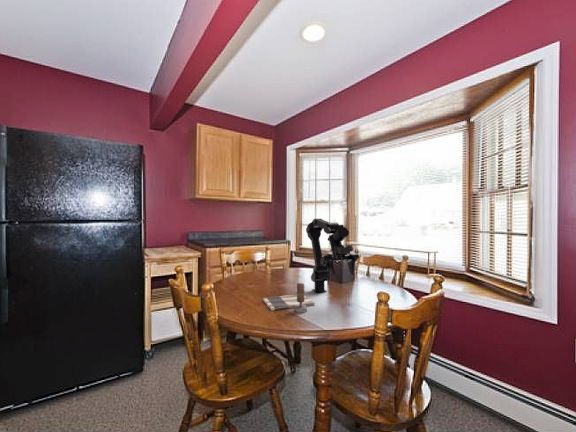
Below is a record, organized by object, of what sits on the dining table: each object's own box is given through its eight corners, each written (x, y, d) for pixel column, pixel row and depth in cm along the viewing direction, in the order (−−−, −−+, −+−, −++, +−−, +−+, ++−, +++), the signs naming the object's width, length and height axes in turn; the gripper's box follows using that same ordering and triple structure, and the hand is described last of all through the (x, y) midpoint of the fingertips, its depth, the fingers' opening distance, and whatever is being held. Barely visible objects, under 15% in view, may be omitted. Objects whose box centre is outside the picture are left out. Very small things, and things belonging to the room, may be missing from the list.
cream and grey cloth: (263, 300, 146) (263, 297, 146) (302, 295, 153) (302, 293, 153) (271, 310, 131) (271, 308, 130) (314, 305, 138) (314, 302, 138)
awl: (293, 309, 132) (292, 283, 132) (304, 308, 134) (303, 282, 134) (297, 313, 127) (297, 286, 127) (308, 312, 129) (308, 285, 128)
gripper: (325, 239, 131) (332, 272, 124) (360, 238, 136) (369, 269, 129) (317, 248, 140) (323, 279, 133) (350, 246, 146) (358, 276, 139)
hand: (343, 275), depth 133 cm, fingers open, 9 cm apart
